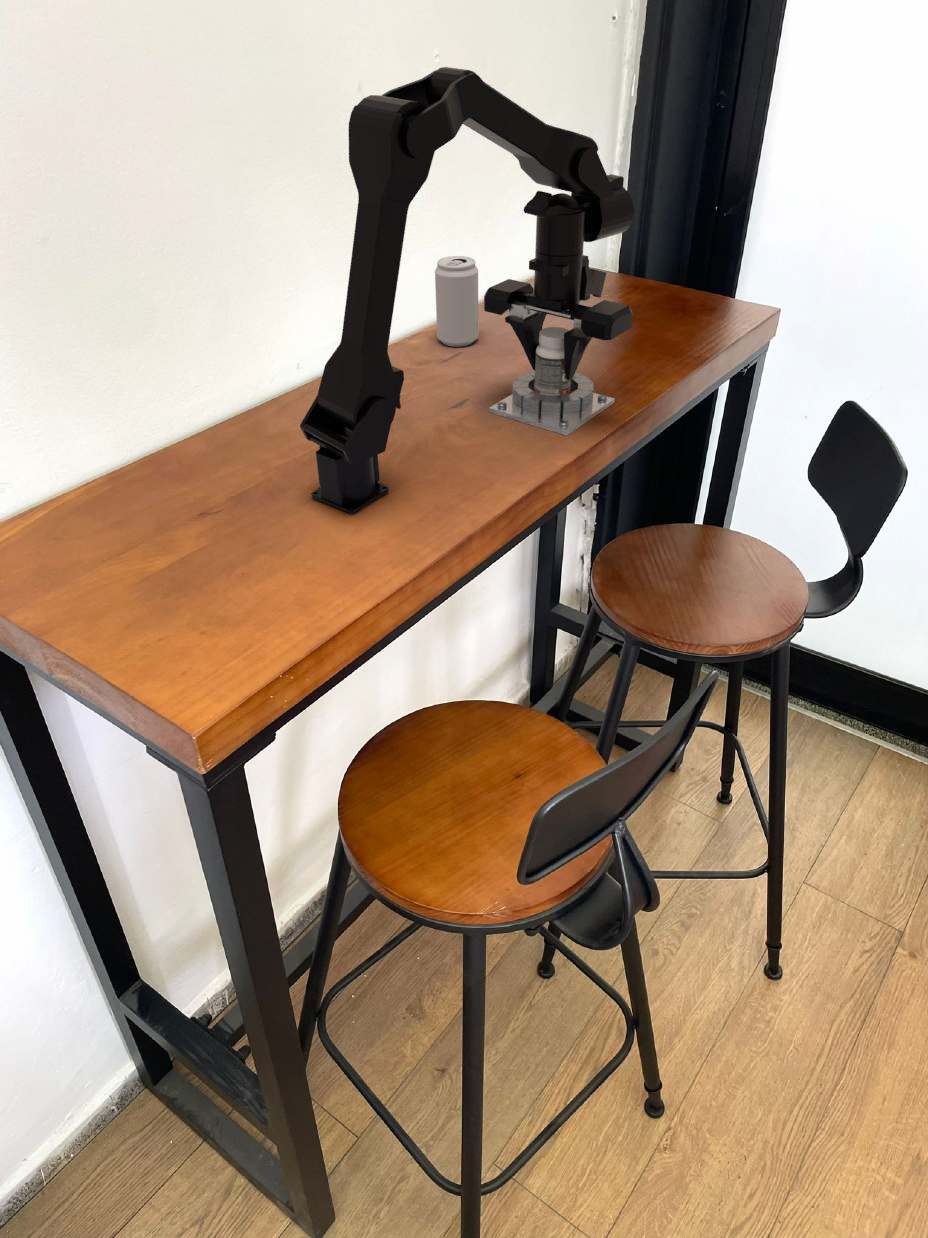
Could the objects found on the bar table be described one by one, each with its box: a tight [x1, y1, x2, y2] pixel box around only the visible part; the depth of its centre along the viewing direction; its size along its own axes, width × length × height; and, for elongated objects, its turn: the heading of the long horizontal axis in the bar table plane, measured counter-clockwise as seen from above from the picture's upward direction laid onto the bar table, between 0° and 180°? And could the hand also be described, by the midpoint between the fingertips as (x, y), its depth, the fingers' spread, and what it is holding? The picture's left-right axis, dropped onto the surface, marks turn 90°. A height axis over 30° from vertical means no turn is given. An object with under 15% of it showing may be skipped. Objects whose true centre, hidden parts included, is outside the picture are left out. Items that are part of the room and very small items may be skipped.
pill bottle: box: [534, 326, 571, 396], centre depth 119 cm, size 5×5×8 cm
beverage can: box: [434, 255, 480, 348], centre depth 139 cm, size 6×6×12 cm
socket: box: [488, 370, 615, 436], centre depth 122 cm, size 12×12×3 cm
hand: (552, 374), depth 120 cm, fingers closed on pill bottle, 5 cm apart
